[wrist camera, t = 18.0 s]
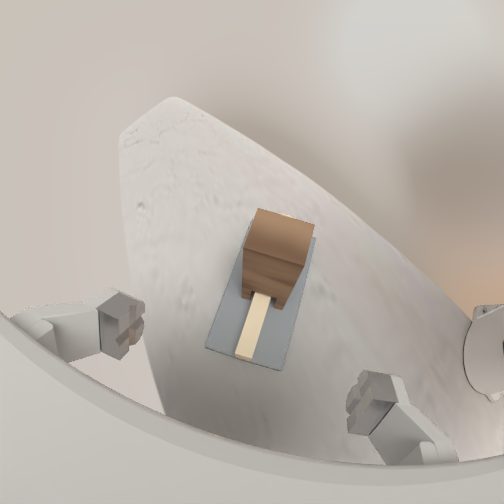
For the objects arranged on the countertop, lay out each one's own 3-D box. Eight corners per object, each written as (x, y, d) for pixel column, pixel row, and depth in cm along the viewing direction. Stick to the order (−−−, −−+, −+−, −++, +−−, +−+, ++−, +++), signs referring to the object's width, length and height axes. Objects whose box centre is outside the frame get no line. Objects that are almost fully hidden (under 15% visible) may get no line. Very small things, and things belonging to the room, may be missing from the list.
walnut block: (251, 268, 40) (257, 208, 27) (290, 280, 39) (314, 224, 27) (241, 297, 38) (242, 247, 25) (282, 310, 37) (304, 265, 25)
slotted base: (251, 223, 44) (253, 205, 40) (314, 241, 43) (321, 225, 39) (205, 347, 35) (201, 342, 31) (279, 370, 34) (285, 368, 30)
